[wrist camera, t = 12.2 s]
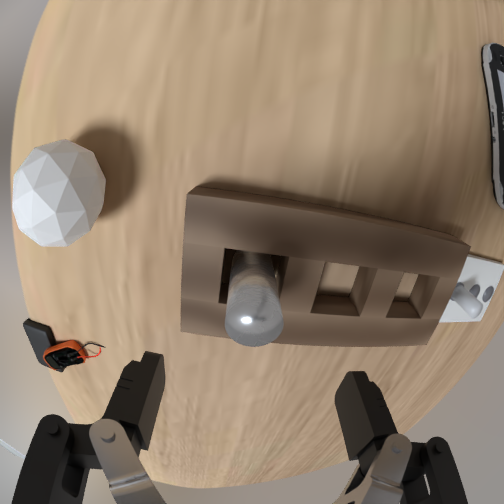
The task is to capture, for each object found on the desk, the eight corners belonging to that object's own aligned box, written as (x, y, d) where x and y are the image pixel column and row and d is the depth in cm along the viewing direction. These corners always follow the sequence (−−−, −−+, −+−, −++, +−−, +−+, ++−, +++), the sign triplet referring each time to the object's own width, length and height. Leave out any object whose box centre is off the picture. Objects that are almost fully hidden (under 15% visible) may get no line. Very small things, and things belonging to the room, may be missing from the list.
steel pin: (234, 241, 21) (227, 297, 14) (275, 247, 21) (289, 304, 14) (229, 278, 22) (222, 343, 15) (268, 282, 23) (277, 348, 15)
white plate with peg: (456, 251, 22) (486, 272, 17) (500, 262, 22) (525, 280, 18) (428, 317, 25) (451, 344, 20) (476, 317, 25) (496, 338, 21)
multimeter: (146, 326, 25) (135, 348, 22) (151, 395, 29) (144, 415, 26) (20, 285, 23) (4, 299, 20) (41, 355, 28) (31, 369, 25)
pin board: (195, 186, 19) (186, 194, 17) (452, 235, 21) (470, 246, 18) (187, 310, 24) (180, 331, 21) (414, 328, 25) (426, 344, 22)
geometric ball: (94, 200, 22) (35, 258, 18) (59, 127, 17) (-13, 183, 12) (141, 206, 19) (66, 284, 14) (100, 109, 13) (-3, 182, 9)
